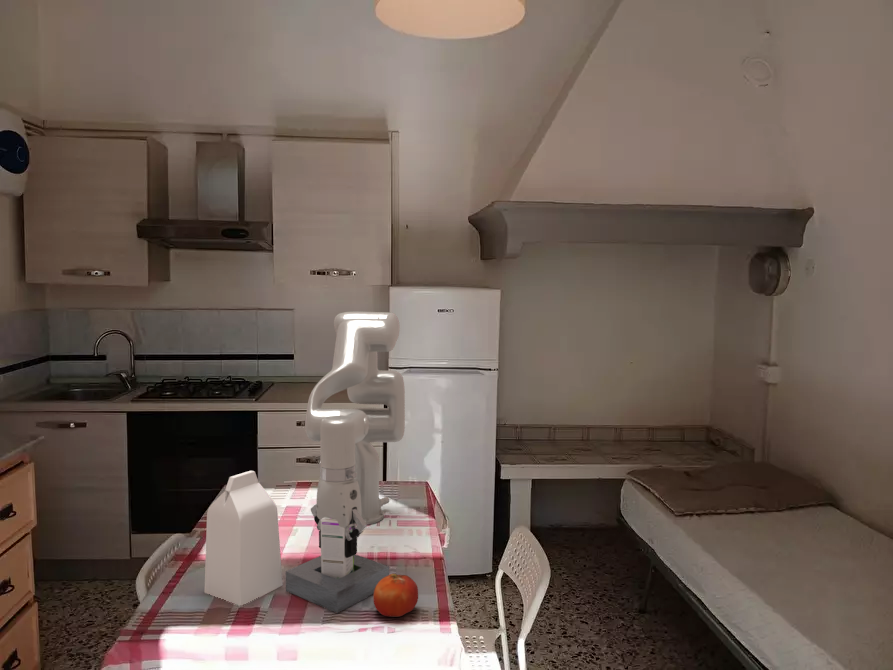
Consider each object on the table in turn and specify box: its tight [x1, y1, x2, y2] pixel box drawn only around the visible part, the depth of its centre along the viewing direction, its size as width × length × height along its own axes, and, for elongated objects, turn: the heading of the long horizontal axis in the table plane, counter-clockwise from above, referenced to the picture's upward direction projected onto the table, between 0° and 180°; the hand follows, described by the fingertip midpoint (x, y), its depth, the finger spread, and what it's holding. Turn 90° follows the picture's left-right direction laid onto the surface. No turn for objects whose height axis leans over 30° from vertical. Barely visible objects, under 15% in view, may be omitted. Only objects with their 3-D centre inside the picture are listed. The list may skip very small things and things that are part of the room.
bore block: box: [285, 553, 390, 614], centre depth 153 cm, size 16×16×4 cm
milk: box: [203, 470, 284, 605], centre depth 151 cm, size 12×12×26 cm
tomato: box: [372, 573, 419, 618], centre depth 143 cm, size 9×9×8 cm
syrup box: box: [320, 517, 354, 580], centre depth 152 cm, size 6×6×14 cm
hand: (337, 550), depth 152 cm, fingers closed on syrup box, 7 cm apart
